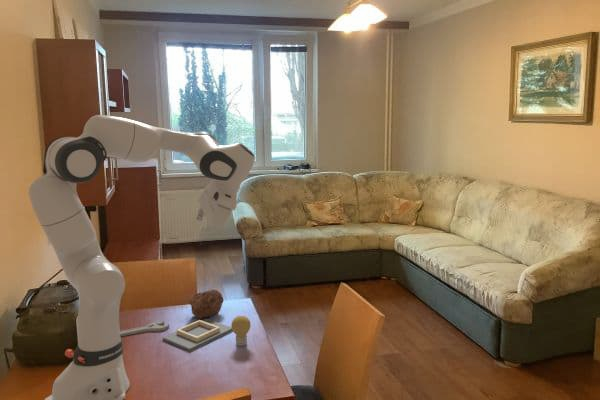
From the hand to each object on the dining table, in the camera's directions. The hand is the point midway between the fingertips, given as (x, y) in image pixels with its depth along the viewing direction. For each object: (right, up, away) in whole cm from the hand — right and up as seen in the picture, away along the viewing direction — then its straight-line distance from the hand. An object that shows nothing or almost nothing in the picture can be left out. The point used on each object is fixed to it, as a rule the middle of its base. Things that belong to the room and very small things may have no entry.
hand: (200, 226), depth 165 cm
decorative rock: (-4, -36, +33) cm, 49 cm away
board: (-4, -39, +15) cm, 42 cm away
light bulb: (+12, -40, +8) cm, 43 cm away
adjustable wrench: (-28, -39, +19) cm, 52 cm away
